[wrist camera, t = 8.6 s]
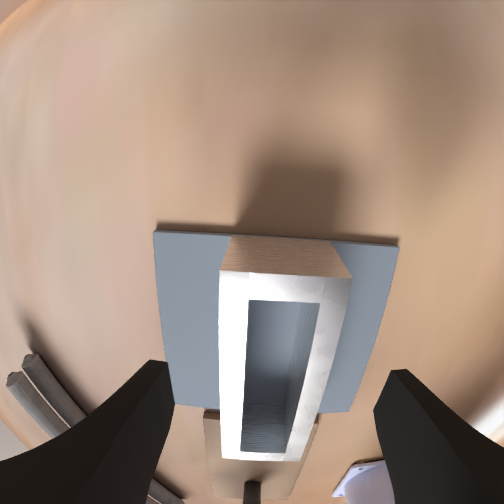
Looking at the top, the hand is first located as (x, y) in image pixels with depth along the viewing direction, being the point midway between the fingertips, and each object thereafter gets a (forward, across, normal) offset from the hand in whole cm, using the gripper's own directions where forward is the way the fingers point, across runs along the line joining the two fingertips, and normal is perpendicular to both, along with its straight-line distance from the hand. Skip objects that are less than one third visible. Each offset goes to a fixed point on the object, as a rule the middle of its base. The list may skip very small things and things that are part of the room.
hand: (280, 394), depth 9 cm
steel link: (+6, 0, +3) cm, 7 cm away
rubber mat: (+7, 0, +3) cm, 7 cm away
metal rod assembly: (+7, +14, +19) cm, 24 cm away
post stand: (+7, 0, +18) cm, 19 cm away
